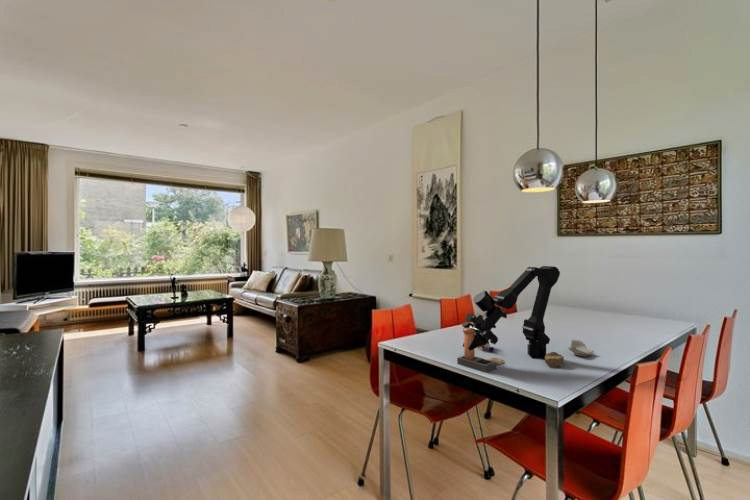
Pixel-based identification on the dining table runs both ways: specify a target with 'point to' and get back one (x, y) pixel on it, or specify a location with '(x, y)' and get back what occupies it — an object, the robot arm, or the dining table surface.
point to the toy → (487, 346)
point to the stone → (554, 359)
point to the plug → (468, 343)
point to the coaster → (496, 360)
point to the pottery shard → (579, 348)
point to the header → (477, 364)
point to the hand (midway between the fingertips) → (466, 348)
